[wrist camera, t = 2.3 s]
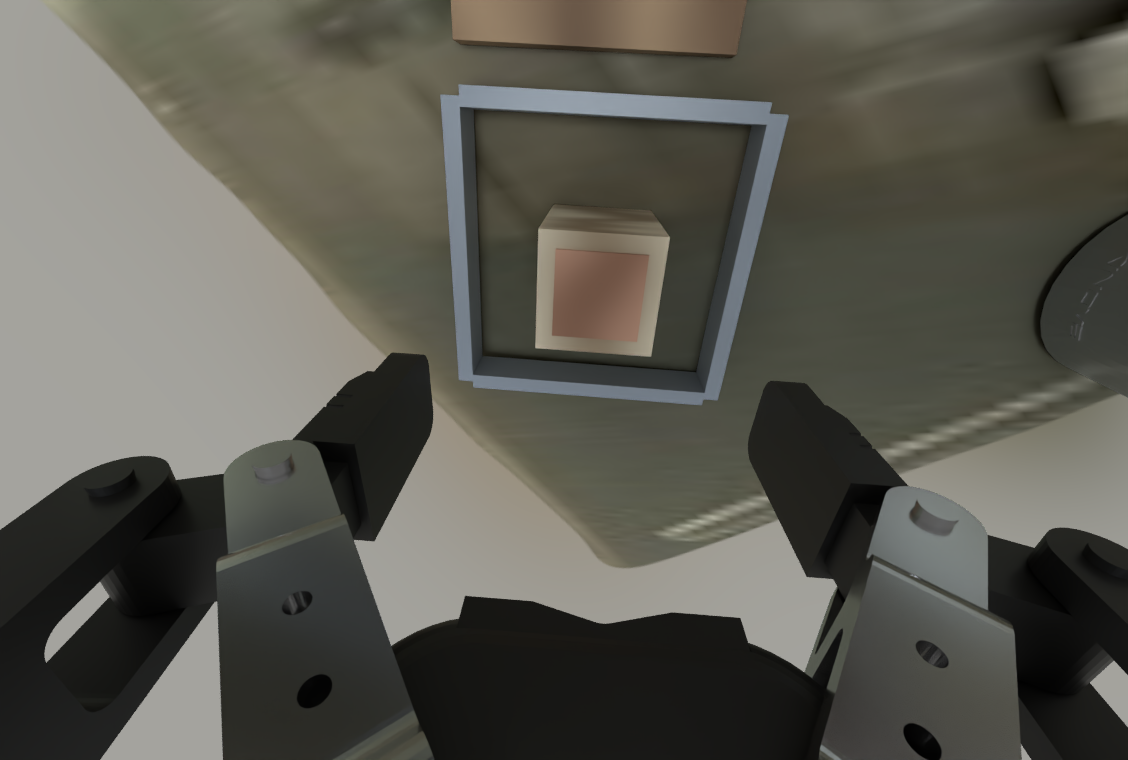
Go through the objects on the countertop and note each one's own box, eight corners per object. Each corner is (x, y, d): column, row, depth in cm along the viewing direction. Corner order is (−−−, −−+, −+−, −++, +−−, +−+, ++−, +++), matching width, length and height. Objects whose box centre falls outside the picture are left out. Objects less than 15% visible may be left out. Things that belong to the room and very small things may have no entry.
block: (650, 210, 23) (670, 238, 17) (638, 303, 26) (651, 358, 19) (553, 203, 24) (537, 229, 17) (550, 297, 26) (534, 349, 20)
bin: (771, 106, 21) (791, 103, 19) (706, 384, 28) (716, 406, 26) (456, 88, 21) (439, 83, 19) (470, 366, 28) (459, 386, 26)
